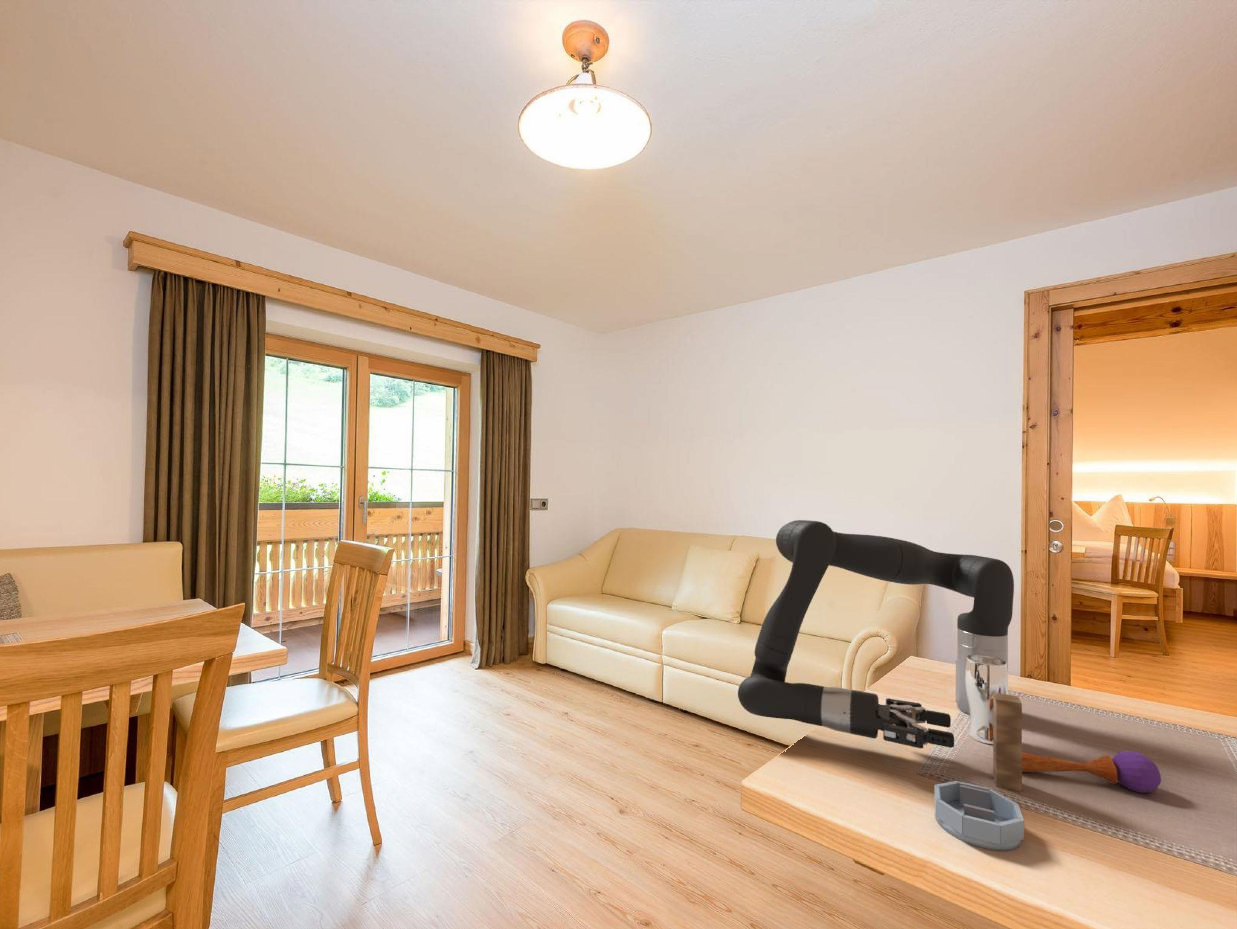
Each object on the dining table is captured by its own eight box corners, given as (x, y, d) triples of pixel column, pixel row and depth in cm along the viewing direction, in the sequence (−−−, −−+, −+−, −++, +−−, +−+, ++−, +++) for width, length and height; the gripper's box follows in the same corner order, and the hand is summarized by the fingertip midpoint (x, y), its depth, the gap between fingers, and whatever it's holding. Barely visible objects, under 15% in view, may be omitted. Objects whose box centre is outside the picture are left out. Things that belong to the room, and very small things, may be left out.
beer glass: (969, 742, 107) (969, 662, 107) (961, 727, 113) (962, 652, 113) (1012, 749, 104) (1012, 667, 104) (1002, 733, 110) (1003, 657, 111)
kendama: (1005, 738, 100) (1144, 748, 94) (1010, 775, 99) (1151, 787, 92) (1016, 746, 95) (1164, 758, 88) (1022, 785, 93) (1173, 800, 87)
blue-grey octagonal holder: (936, 835, 78) (937, 806, 78) (933, 798, 87) (933, 772, 87) (1028, 860, 73) (1028, 828, 73) (1014, 817, 82) (1014, 790, 83)
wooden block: (996, 786, 91) (996, 699, 91) (993, 776, 94) (993, 692, 94) (1021, 792, 89) (1021, 703, 90) (1017, 781, 92) (1017, 696, 93)
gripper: (846, 704, 97) (955, 724, 89) (852, 678, 109) (949, 694, 102) (845, 748, 96) (955, 771, 89) (852, 717, 109) (949, 735, 102)
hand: (952, 730), depth 95 cm, fingers open, 8 cm apart
